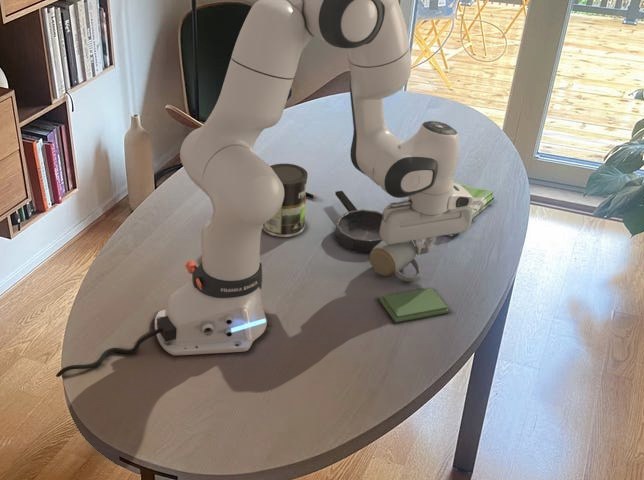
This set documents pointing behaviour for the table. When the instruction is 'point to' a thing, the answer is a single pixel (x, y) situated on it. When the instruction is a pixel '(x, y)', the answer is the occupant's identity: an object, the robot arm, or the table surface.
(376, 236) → the steel pan
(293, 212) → the coffee can
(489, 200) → the dish towel
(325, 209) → the table surface
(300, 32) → the robot arm
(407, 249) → the ceramic mug
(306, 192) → the fountain pen
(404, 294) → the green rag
